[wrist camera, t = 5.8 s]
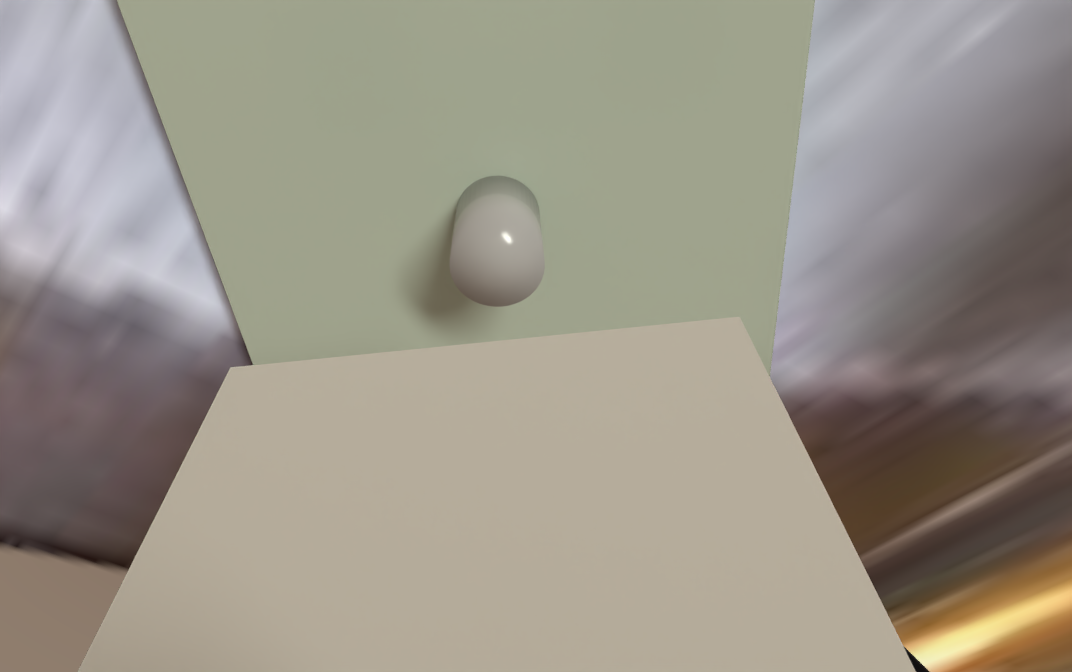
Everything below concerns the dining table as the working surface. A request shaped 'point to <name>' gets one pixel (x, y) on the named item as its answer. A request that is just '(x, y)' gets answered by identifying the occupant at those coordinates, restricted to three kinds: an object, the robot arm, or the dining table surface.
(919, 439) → the dining table surface
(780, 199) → the stub plate
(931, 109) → the dining table surface
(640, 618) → the block
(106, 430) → the dining table surface
